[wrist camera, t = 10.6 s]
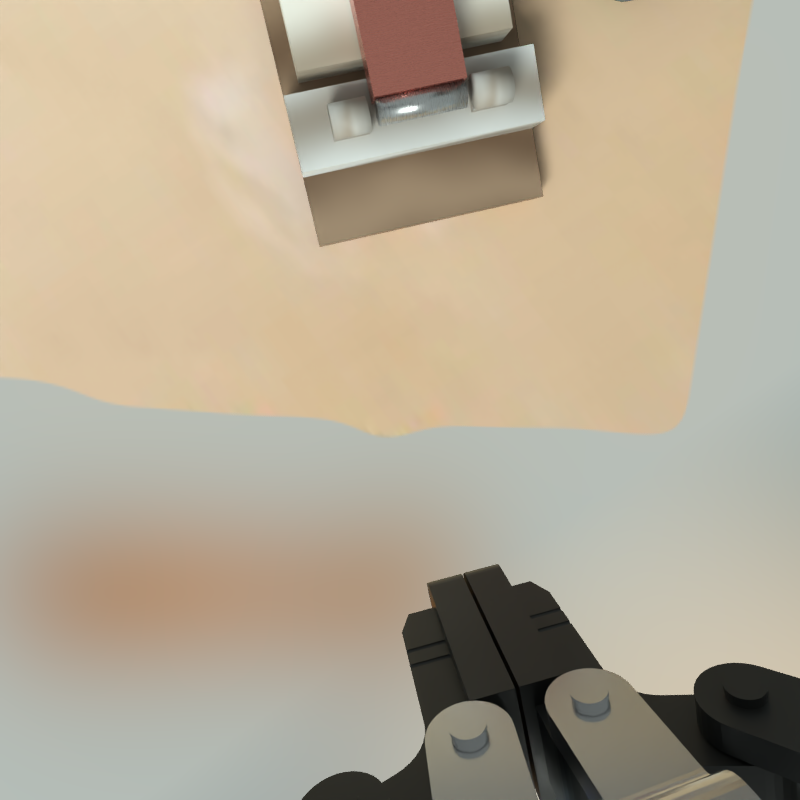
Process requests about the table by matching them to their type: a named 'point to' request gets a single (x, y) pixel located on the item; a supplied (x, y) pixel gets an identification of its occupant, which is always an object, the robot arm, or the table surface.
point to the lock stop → (411, 57)
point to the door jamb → (405, 123)
